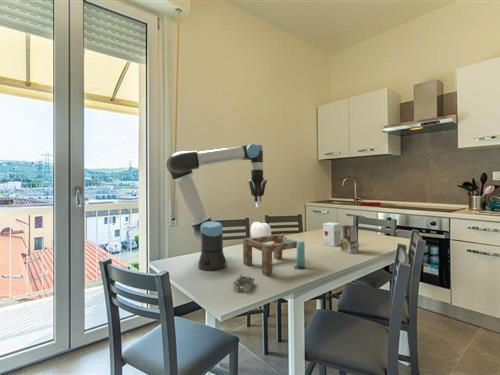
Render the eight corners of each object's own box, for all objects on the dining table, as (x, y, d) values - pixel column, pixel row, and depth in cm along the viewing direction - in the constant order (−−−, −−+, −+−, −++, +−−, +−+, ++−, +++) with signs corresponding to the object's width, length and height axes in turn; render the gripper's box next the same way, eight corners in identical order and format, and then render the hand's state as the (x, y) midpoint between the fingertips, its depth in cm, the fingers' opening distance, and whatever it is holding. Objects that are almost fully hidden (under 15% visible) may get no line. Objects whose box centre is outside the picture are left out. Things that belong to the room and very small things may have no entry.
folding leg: (280, 260, 155) (280, 237, 154) (286, 259, 157) (286, 236, 157) (300, 267, 141) (300, 242, 141) (306, 266, 143) (306, 241, 143)
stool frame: (267, 276, 130) (266, 247, 130) (243, 263, 152) (242, 238, 152) (308, 268, 142) (307, 241, 142) (280, 257, 164) (280, 233, 164)
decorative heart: (275, 247, 188) (275, 222, 187) (263, 250, 181) (263, 224, 181) (258, 243, 202) (258, 220, 202) (247, 245, 195) (246, 221, 195)
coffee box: (358, 252, 171) (358, 226, 170) (350, 253, 168) (350, 227, 168) (348, 249, 179) (348, 224, 179) (340, 250, 177) (340, 225, 177)
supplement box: (322, 244, 194) (322, 223, 194) (329, 242, 200) (329, 222, 200) (334, 246, 187) (333, 224, 187) (341, 244, 193) (340, 223, 193)
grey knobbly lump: (248, 293, 112) (248, 283, 112) (231, 291, 114) (231, 281, 114) (256, 284, 122) (256, 275, 122) (240, 282, 124) (240, 273, 124)
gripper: (262, 169, 180) (263, 205, 180) (245, 169, 174) (246, 207, 174) (269, 169, 173) (269, 206, 174) (251, 169, 167) (251, 207, 167)
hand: (257, 206), depth 174 cm, fingers closed
